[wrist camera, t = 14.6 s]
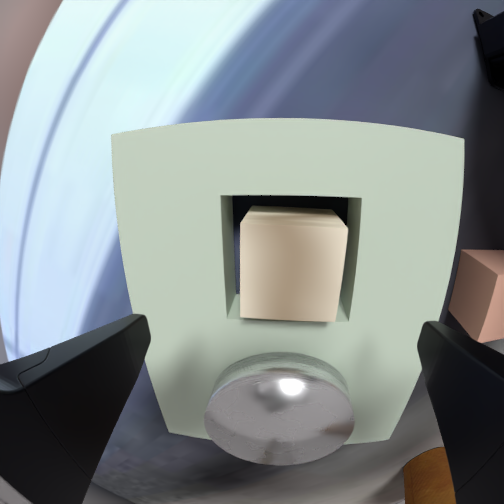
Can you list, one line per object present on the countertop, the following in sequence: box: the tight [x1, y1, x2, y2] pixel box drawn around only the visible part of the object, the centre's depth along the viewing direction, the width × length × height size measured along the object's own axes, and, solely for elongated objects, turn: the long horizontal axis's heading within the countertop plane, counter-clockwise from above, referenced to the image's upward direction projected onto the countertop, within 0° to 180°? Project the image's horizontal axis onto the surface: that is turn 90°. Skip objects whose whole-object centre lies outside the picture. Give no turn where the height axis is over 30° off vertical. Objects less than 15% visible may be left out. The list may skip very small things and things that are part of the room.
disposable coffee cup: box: [403, 447, 456, 504], centre depth 17 cm, size 10×10×12 cm
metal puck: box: [204, 352, 355, 465], centre depth 16 cm, size 9×9×2 cm
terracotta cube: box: [448, 250, 504, 343], centre depth 14 cm, size 4×4×4 cm
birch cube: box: [240, 206, 348, 322], centre depth 15 cm, size 4×4×4 cm
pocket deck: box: [111, 118, 464, 444], centre depth 17 cm, size 18×22×3 cm
